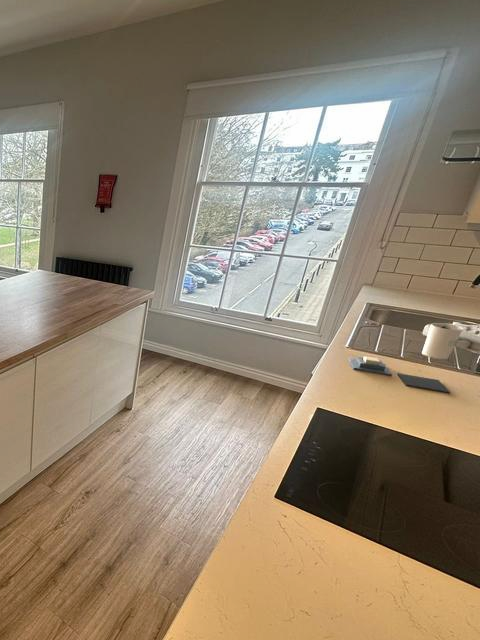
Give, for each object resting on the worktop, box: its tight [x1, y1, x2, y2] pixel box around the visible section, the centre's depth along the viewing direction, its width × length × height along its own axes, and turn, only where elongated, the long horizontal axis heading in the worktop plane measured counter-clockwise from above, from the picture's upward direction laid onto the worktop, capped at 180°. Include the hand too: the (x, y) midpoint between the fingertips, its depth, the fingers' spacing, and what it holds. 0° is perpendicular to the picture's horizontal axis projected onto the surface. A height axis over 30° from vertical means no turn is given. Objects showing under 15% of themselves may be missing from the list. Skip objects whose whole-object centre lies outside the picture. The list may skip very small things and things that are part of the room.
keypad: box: [347, 356, 393, 377], centre depth 145 cm, size 10×10×2 cm
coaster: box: [396, 372, 451, 395], centre depth 133 cm, size 10×10×1 cm
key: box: [362, 355, 381, 365], centre depth 144 cm, size 4×4×2 cm
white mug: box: [421, 322, 463, 360], centre depth 127 cm, size 7×7×10 cm
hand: (440, 340), depth 126 cm, fingers closed on white mug, 2 cm apart
